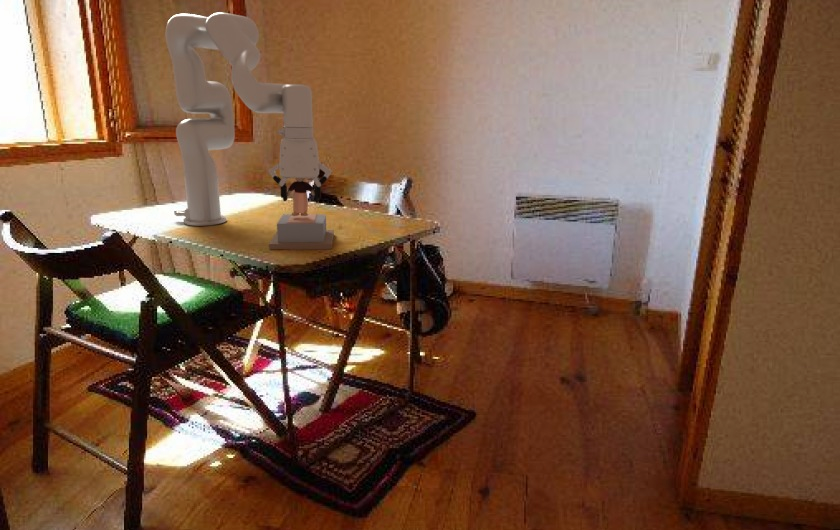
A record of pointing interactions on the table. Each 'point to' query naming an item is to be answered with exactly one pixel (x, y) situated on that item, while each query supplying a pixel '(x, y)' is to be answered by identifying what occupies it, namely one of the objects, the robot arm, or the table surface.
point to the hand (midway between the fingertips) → (301, 200)
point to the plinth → (303, 244)
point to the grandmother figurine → (300, 196)
